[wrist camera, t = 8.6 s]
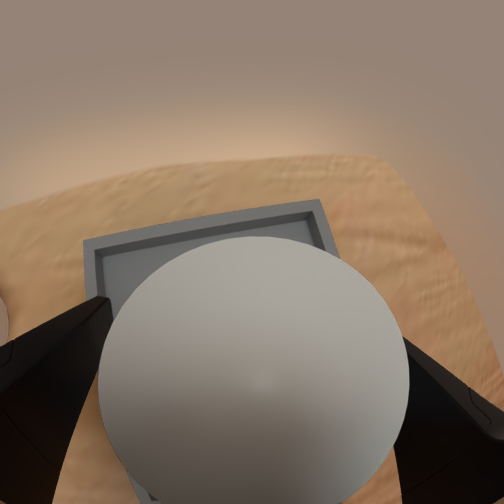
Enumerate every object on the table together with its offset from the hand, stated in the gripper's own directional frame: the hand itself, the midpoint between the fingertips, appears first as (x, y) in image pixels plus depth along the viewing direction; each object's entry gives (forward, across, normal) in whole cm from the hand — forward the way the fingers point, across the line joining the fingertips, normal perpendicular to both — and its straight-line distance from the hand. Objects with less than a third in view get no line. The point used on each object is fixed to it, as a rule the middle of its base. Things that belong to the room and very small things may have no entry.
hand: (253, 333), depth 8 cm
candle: (+5, 0, +7) cm, 9 cm away
